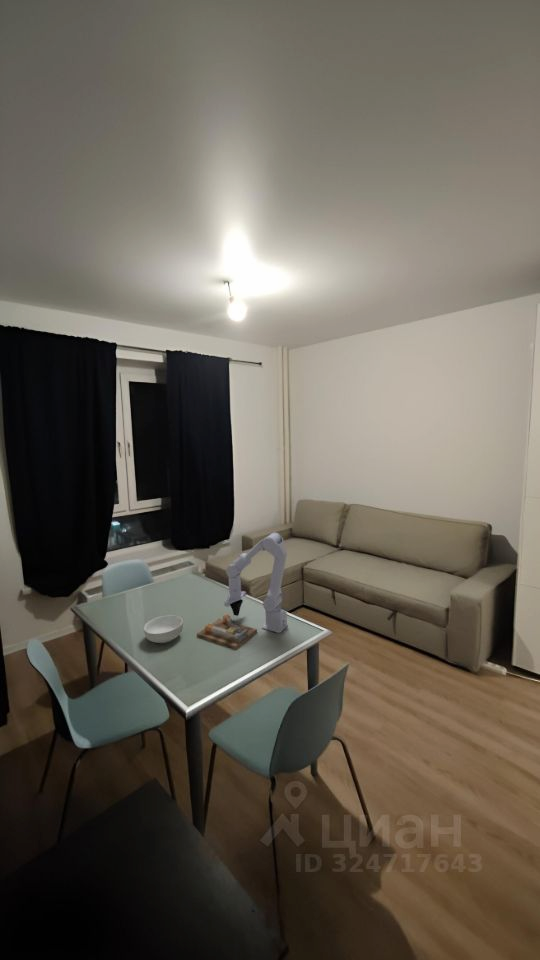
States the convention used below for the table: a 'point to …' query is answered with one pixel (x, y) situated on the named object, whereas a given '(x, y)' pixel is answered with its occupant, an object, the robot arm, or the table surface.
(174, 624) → the cereal bowl
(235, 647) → the board
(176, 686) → the table surface
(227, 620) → the tong arm
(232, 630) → the tab
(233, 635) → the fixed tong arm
